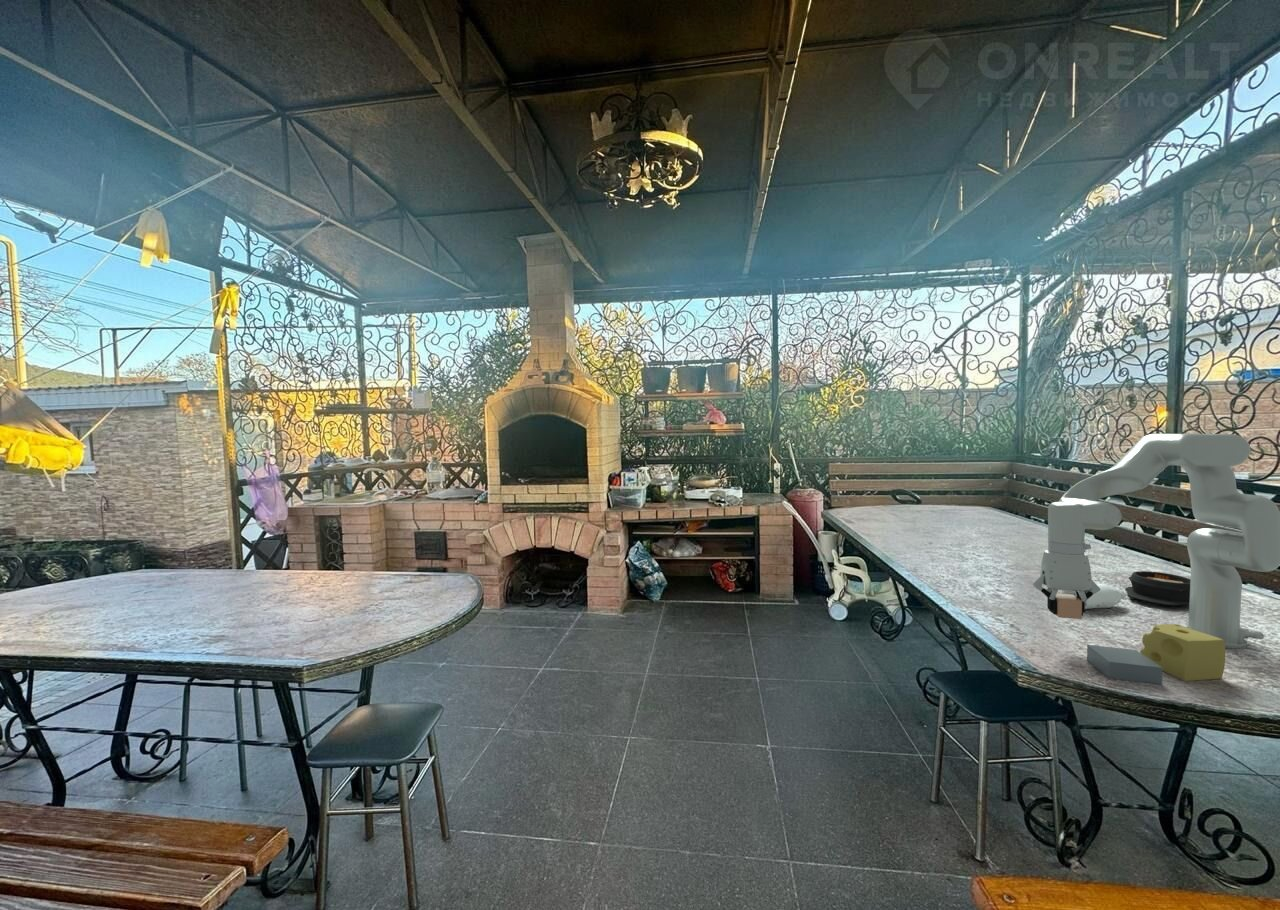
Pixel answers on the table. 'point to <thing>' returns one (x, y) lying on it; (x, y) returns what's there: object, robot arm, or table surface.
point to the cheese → (1185, 652)
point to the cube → (1068, 606)
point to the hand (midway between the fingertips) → (1065, 612)
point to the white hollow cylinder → (1102, 597)
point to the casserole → (1159, 588)
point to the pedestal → (1124, 664)
